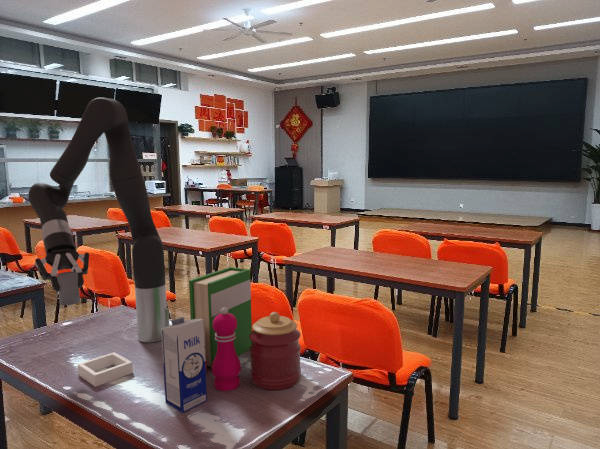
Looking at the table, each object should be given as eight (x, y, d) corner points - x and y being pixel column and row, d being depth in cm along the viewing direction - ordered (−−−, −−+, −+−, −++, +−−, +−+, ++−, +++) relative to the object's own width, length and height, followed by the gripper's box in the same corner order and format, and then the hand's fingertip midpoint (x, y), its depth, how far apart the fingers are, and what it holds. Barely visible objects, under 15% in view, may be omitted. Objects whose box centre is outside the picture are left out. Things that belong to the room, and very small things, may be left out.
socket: (114, 362, 127) (114, 352, 127) (132, 372, 120) (132, 362, 120) (78, 374, 120) (77, 364, 119) (95, 386, 113) (94, 375, 113)
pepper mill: (236, 393, 109) (233, 313, 106) (207, 390, 110) (204, 311, 108) (245, 379, 116) (243, 303, 113) (218, 377, 117) (215, 302, 115)
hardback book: (214, 371, 121) (210, 283, 118) (193, 365, 124) (188, 280, 121) (252, 347, 136) (250, 269, 133) (232, 343, 140) (230, 266, 136)
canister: (311, 377, 117) (310, 311, 114) (276, 397, 107) (274, 325, 105) (275, 363, 125) (274, 301, 123) (239, 380, 115) (237, 313, 113)
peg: (78, 298, 127) (75, 270, 126) (81, 302, 123) (79, 274, 122) (58, 302, 124) (55, 273, 123) (61, 306, 120) (58, 277, 119)
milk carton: (181, 413, 100) (177, 326, 98) (164, 403, 105) (159, 320, 102) (207, 400, 106) (204, 318, 103) (190, 391, 110) (186, 312, 107)
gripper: (29, 233, 124) (39, 285, 116) (86, 228, 132) (99, 276, 124) (29, 249, 129) (38, 300, 121) (83, 243, 137) (96, 291, 129)
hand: (69, 288), depth 122 cm, fingers closed on peg, 5 cm apart
